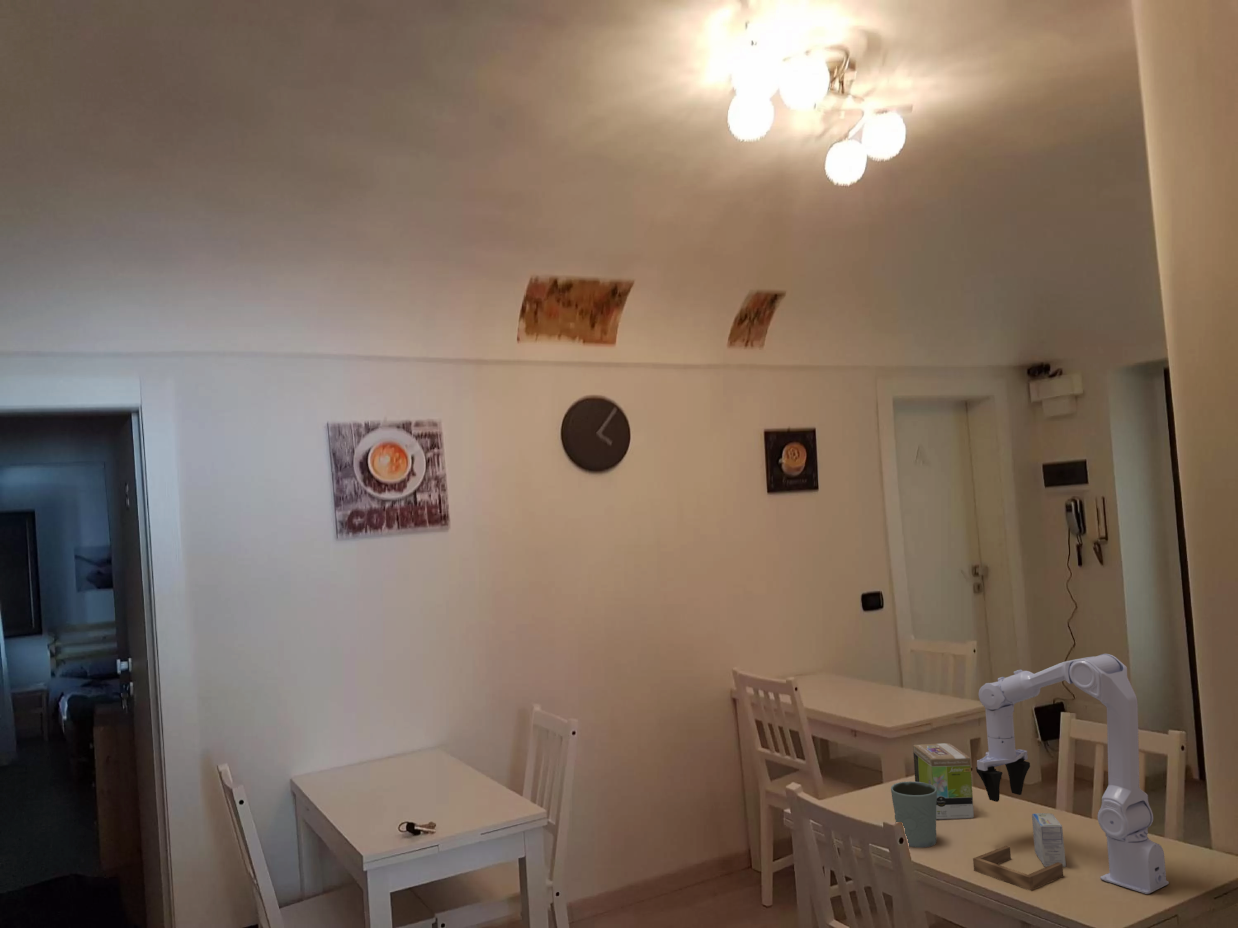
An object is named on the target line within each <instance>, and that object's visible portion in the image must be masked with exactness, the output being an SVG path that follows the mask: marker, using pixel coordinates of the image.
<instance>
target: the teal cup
mask: <svg viewBox="0 0 1238 928" xmlns="http://www.w3.org/2000/svg"><path fill="white" fill-rule="evenodd" d="M890 793H891V799H892V800H891V801H892V805H893V809H894V810H893V813H894V820H895V823H896V822H902V823H903V826H904V828H905V834H906V836H907V839H908V843H909V846H910V847H909V846H908V847H909V848H920V849H921V848H929V847H933V846H935V845H936V844H937V819H936V802H937V789H936V787H934V786H933V785H930V784H927V783H923V782H915V781H899V782H897V783H893V784H892V785H891V786H890Z"/></svg>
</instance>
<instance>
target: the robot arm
mask: <svg viewBox="0 0 1238 928" xmlns="http://www.w3.org/2000/svg"><path fill="white" fill-rule="evenodd" d="M1064 681H1065V682H1067V683H1068V684H1069V685H1071V684H1073V685H1074V686H1075V687H1076V688H1078V689H1079V690H1081V691H1083V693H1085V694H1087V695H1089V696H1090V697H1092V698H1094V699H1096V700H1097V701H1099V702H1100V703H1101V704H1102V705H1104V706H1105V707H1106V726H1107V727H1106V729H1107V733H1106V735H1107V772H1108V773H1107V774H1108V775H1107V776H1108V777H1107V778H1108V785H1107V788H1106V790H1105V791H1104V792H1103V795H1102V797H1101V806H1100V809H1099V810H1098V813H1097V821H1098V822H1097V823H1098V825H1099V826H1100V828H1101V830H1102V831H1103V832H1104V834H1105V837H1106V843H1107V857H1108V867H1109V868H1108V869H1109V872H1108V873H1106V874H1104V875H1100V877H1099V878H1100V880H1102V881H1105V882H1107V883H1111V884H1113V885H1117V886H1121V887H1123V888H1126V889H1129V890H1133V891H1136V892H1139V893H1142V894H1146V895H1149V894H1151V893H1153V892H1155V891H1157V890H1159V889H1161V888H1163V887H1165V886H1167V885H1169V883H1170V882H1169V881H1168V880H1167V875H1166V874H1167V873H1166V862H1165V861H1166V860H1165V851H1164V849H1163V847H1162V845H1160V844H1159V843H1157V842H1154V841H1153V840H1151V839H1150V838H1149V837H1148V834H1149V832H1148V831H1149V830H1148V828H1150V827H1151V825H1152V824H1153V821H1154V813H1153V810H1152V808H1151V806H1150V803H1149V795H1148V794H1147V793H1146V792H1145V791H1144V790H1142V789H1141V788H1140V787H1141V786H1140V757H1139V756H1140V755H1139V754H1140V753H1139V752H1140V746H1139V742H1140V741H1139V706H1138V703H1139V702H1138V698H1137V695H1136V693H1135V690H1134V689H1133V685H1132V684H1131V682H1130V680H1129V678H1128V667H1127V665H1125V664H1124V663H1123V662H1122V661H1121V660H1120V659H1119V658H1118V657H1116V656H1114V655H1112V654H1109V653H1102V654H1099V655H1097V656H1096V655H1095V656H1087V657H1081V658H1076V659H1071V660H1066V661H1063V662H1060V663H1057V664H1055V665H1053V666H1050V667H1048V668H1045V669H1043V670H1041V671H1037V672H1036V673H1033V672H1031V671H1029V670H1022V669H1017V670H1015V671H1013V675H1009V676H1007V677H1005V676H1001V677H998V678H997V681H994V682H986V683H984V684H983V685H982V686H980V688H979V690H978V699H979V702H980V703H981V705H982V706H983V707H984V711H985V721H986V722H985V723H986V734H987V748H988V749H987V750H988V751H986V752H985V753H984V754H985V756H984V757H982V758H980V759H977V760H976V767H975V769H976V773H977V774H978V776H979V778H980V779H981V781H982V783H983V785H984V789H985V790H986V793H987V797H988V800H990V801H992V802H996V803H998V802H1000V796H1001V795H1000V794H1001V793H1000V788H1001V787H1000V784H1001V779H1002V776H1003V772H1002V771H998V770H997V768H996V767H999V766H1003V765H1005V768H1006V771H1007V774H1008V778H1009V787H1010V791H1011V793H1012V794H1015V795H1018V796H1021V795H1022V792H1023V787H1024V783H1025V779H1026V776H1027V773H1028V771H1029V769H1030V767H1031V763H1030V762H1029V761H1026V760H1028V759H1029V757H1028V750H1025V749H1019V748H1018V749H1016V738H1015V737H1016V735H1015V724H1014V712H1015V709H1014V707H1015V705H1016V704H1017V703H1020V702H1023V701H1026V700H1029V699H1032V698H1036V697H1037V696H1039V695H1040V693H1041V688H1044V687H1048V686H1051V685H1054V684H1059V683H1060V682H1061V683H1062V682H1064Z"/></svg>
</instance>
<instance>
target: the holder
mask: <svg viewBox="0 0 1238 928" xmlns="http://www.w3.org/2000/svg"><path fill="white" fill-rule="evenodd" d="M1011 857H1012V855H1011V846H1008V845H1004V846H1002V847H999V848H997V849H994V850H991V851H989V852H985V853H983V854H981V855H978V856H976V857H973V858H972V861H973V863H972V864H973V871H975V872H976V873H980V874H983V875H986V876H988V877H991V878H993V879H997V880H1000V881H1002V882H1005V883H1009V884H1011V885H1014V886H1017V887H1019V888H1021V889H1025V890H1028V891H1032V890H1033V891H1034V890H1035V889H1037V888H1039V887H1042V886H1044V885H1046V884H1048V883H1050V882H1053V881H1056V880H1058V879H1060V878H1062V877H1064V867H1063V864H1062V863H1059V862H1057V863H1055V864H1052V865H1050V866H1048V867H1045V866H1044V867H1042V868H1041V869H1038V870H1036V871H1034V872H1033V871H1032V872H1031V873H1028V874H1027V873H1025V872H1021V871H1019V870H1015V869H1012V868H1010V867H1007V866H1004V865H1000V864H1002V863H1004V862H1007V861H1009V860H1012V858H1011Z"/></svg>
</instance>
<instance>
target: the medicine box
mask: <svg viewBox="0 0 1238 928" xmlns="http://www.w3.org/2000/svg"><path fill="white" fill-rule="evenodd" d="M1031 820H1032V833H1033V844H1034V853H1035V854H1036V856H1037V858H1038V859H1039V861H1040V862H1041V863H1042V865H1043V867H1044V868H1045V867H1048V866H1050V865H1052V864H1055V863H1057V862H1059V863H1062V864H1063V868H1066V867H1067V863H1066V851H1065V843H1064V832H1063V831H1064V830H1063V825H1062V824H1061V823H1060V821H1059V820H1058V819H1057V818H1056V816H1055V815H1054V814H1053V813H1048V812H1047V813H1044V812H1043V813H1041V812H1040V813H1037V812H1036V813H1032V815H1031Z"/></svg>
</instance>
